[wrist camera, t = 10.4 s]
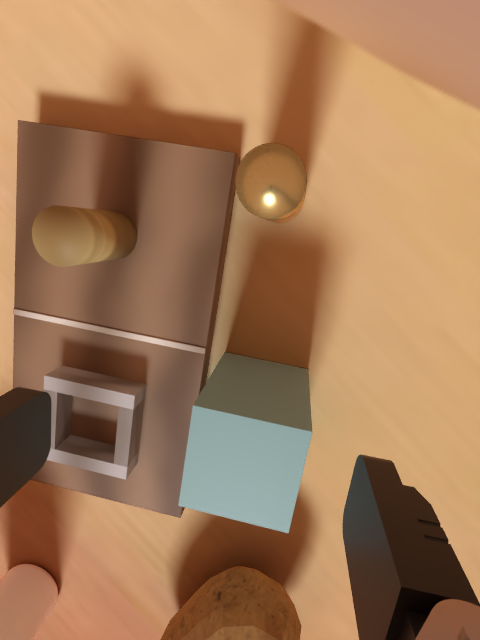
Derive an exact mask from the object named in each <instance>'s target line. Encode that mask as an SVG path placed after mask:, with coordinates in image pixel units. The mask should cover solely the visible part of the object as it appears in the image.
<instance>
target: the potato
mask: <svg viewBox="0 0 480 640" xmlns="http://www.w3.org/2000/svg"><path fill="white" fill-rule="evenodd" d="M300 633H301V624H300V621H299V618H298V615H297V612H296V609H295V606H294V604H293V602H292V600H291V599H290V597H289V595H288V594H287V592H286V591H285V589H284V587H283V586H282V585H281V584H279V583H278V582H276V581H274V580H273V579H271V578H270V577H268V576H266V575H265V574H263V573H261V572H260V571H258V570H256V569H253V568H249V567H244V566H235V567H232V568H229V569H227V570H225V571H223V572H221V573H219V574H217V575H215V576H213V577H211V578H210V579H208V580H207V581H206V582H205V583H204V584H203V585H202V586H201V587H200V588H199V589H198V590H197V591H196V592H195V593H194V594H193V595H192V597H191V598H190V599H189V600H188V601H187V602H186V603H185V604H184V605H183V606H182V608H181V609H180V610H179V611H178V612H177V613H176V614H175V616H174V617H173V618H172V619H171V620H170V622H169V624H168V626H167V628H166V630H165V632H164V634H163V636H162V638H161V640H300Z"/></svg>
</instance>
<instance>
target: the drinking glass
mask: <svg viewBox="0 0 480 640" xmlns="http://www.w3.org/2000/svg"><path fill="white" fill-rule="evenodd" d="M57 598H58V589H57V585H56V583H55V581H54V579H53V578H52V576H51V575H50V574H49V573H48V572H47V571H45V570H44V569H43V568H41V567H39V566H36V565H33V564H20V565H17V566H15V567H13V568H11V569H10V570H9V571H8V572H7V573H6V574H5V575H4V576H3V577H2V578H1V579H0V640H34V639H35V638H36V636H37V634H38V632H39V631H40V629H41V627H42V625H43V624H44V622H45V620H46V619H47V617H48V616H49V614H50V613H51V611H52V610H53V608H54V606H55V604H56V602H57Z"/></svg>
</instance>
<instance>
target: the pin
mask: <svg viewBox="0 0 480 640" xmlns="http://www.w3.org/2000/svg"><path fill="white" fill-rule="evenodd" d="M306 184H307V175H306V170H305V166H304V164H303V162H302V160H301V158H300V157H299V156H298V154H297V153H296V152H295V151H293V150H292V149H291V148H289V147H287V146H285V145H282V144H278V143H267V144H262V145H260V146H257V147H255V148H254V149H252V150H251V151H250V152H248V153H247V154H246V155H245V157H244V158H243V159H242V161H241V162H240V164H239V166H238V169H237V173H236V179H235V185H236V191H237V195H238V197H239V199H240V201H241V203H242V204H243V206H244V207H245V208H246V209H247V210H248V211H250V212H251V213H252V214H254V215H256V216H259V217H262V218H264V219H267V220H270V221H273V222H278V223H282V222H287V221H289V220H291V219H293V218H294V217H296V216H297V215H298V213H299V212H300V210H301V209H302V206H303V202H304V196H305V190H306Z"/></svg>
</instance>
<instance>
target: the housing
mask: <svg viewBox="0 0 480 640" xmlns="http://www.w3.org/2000/svg"><path fill="white" fill-rule="evenodd" d="M311 435H312V421H311V406H310V391H309V377H308V369H305V368H300V367H296V366H291V365H286V364H281V363H276V362H271V361H266V360H262V359H257V358H252V357H247V356H242V355H237V354H232V353H228V352H225V353H224V355H223V356H222V358H221V360H220V361H219V363H218V365H217V366H216V368H215V370H214V371H213V373H212V375H211V376H210V378H209V380H208V381H207V383H206V385H205V386H204V388H203V390H202V391H201V393H200V394H199V396H198V398H197V399H196V401H195V403H194V404H193V408H192V415H191V422H190V429H189V436H188V443H187V449H186V456H185V463H184V470H183V477H182V484H181V491H180V498H179V505H178V506H181V507H185V508H189V509H193V510H197V511H201V512H205V513H209V514H213V515H217V516H221V517H225V518H229V519H233V520H237V521H241V522H245V523H249V524H253V525H257V526H261V527H265V528H269V529H273V530H277V531H281V532H285V533H289V529H290V525H291V520H292V516H293V512H294V508H295V503H296V499H297V495H298V491H299V486H300V482H301V478H302V474H303V469H304V465H305V461H306V456H307V452H308V448H309V444H310V439H311Z"/></svg>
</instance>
